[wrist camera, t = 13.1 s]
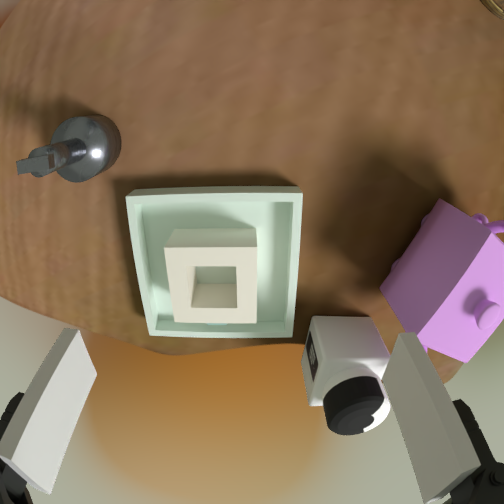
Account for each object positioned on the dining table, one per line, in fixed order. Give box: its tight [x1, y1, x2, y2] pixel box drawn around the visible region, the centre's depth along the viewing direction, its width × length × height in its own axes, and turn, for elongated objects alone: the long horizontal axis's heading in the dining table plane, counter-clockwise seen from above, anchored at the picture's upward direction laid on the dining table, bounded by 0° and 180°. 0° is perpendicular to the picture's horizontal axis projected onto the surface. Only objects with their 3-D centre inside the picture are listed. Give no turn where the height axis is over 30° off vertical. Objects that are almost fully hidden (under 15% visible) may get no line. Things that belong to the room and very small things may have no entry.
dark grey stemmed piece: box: [16, 115, 121, 182], centre depth 23 cm, size 6×6×11 cm
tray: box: [126, 186, 303, 338], centre depth 32 cm, size 16×16×3 cm
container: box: [301, 316, 390, 435], centre depth 32 cm, size 8×8×13 cm
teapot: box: [379, 198, 504, 363], centre depth 28 cm, size 20×10×12 cm, turn 152°
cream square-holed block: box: [164, 228, 257, 325], centre depth 31 cm, size 9×8×4 cm
